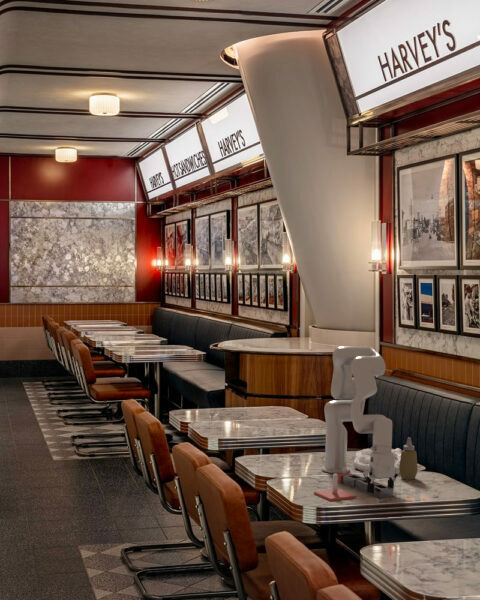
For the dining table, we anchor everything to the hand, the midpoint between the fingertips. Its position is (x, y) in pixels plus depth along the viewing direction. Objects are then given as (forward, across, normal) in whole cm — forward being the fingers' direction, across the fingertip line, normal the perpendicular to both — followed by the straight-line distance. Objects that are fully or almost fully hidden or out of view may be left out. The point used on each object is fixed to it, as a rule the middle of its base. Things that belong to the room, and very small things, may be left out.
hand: (380, 491), depth 354 cm
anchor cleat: (+2, 0, +26) cm, 26 cm away
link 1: (+2, 0, +18) cm, 18 cm away
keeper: (+2, -18, +6) cm, 19 cm away
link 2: (+2, 0, +9) cm, 9 cm away
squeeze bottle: (+2, +29, +19) cm, 35 cm away
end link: (+2, 0, 0) cm, 2 cm away
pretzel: (+2, +31, +42) cm, 52 cm away
